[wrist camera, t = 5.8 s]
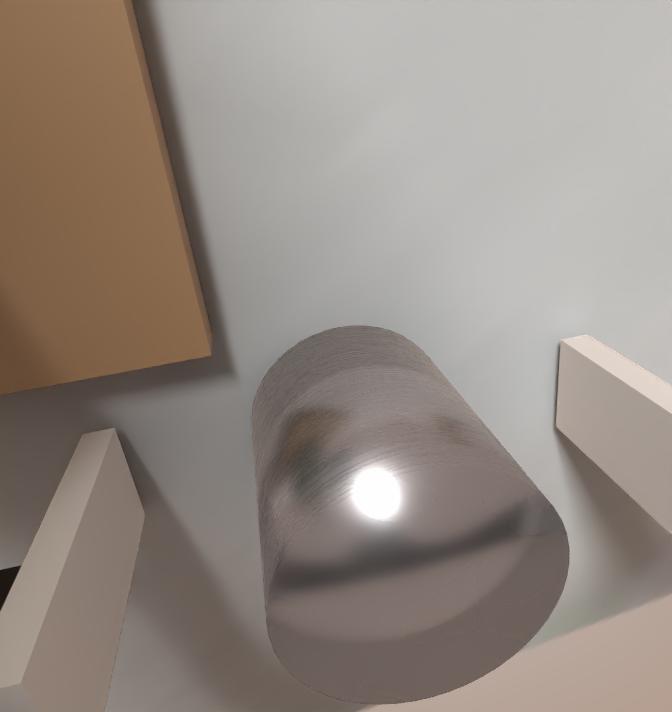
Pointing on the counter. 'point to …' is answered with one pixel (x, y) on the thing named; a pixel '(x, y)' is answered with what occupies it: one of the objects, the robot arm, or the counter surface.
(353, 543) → the cap
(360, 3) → the counter surface
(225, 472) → the counter surface
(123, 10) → the brown board with cylinder
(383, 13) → the counter surface
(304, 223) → the counter surface
